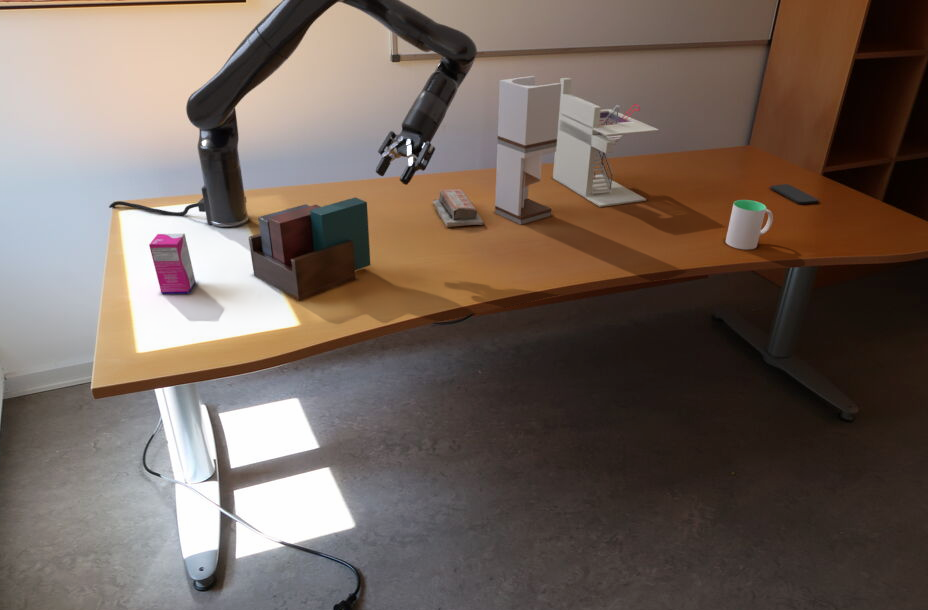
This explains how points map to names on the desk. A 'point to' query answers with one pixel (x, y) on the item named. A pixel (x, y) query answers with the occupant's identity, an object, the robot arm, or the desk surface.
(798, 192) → the phone
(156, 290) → the desk surface
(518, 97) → the notched white tower
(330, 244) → the book
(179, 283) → the supplement box
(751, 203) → the mug
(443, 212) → the packaged product
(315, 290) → the book rack
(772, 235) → the desk surface
